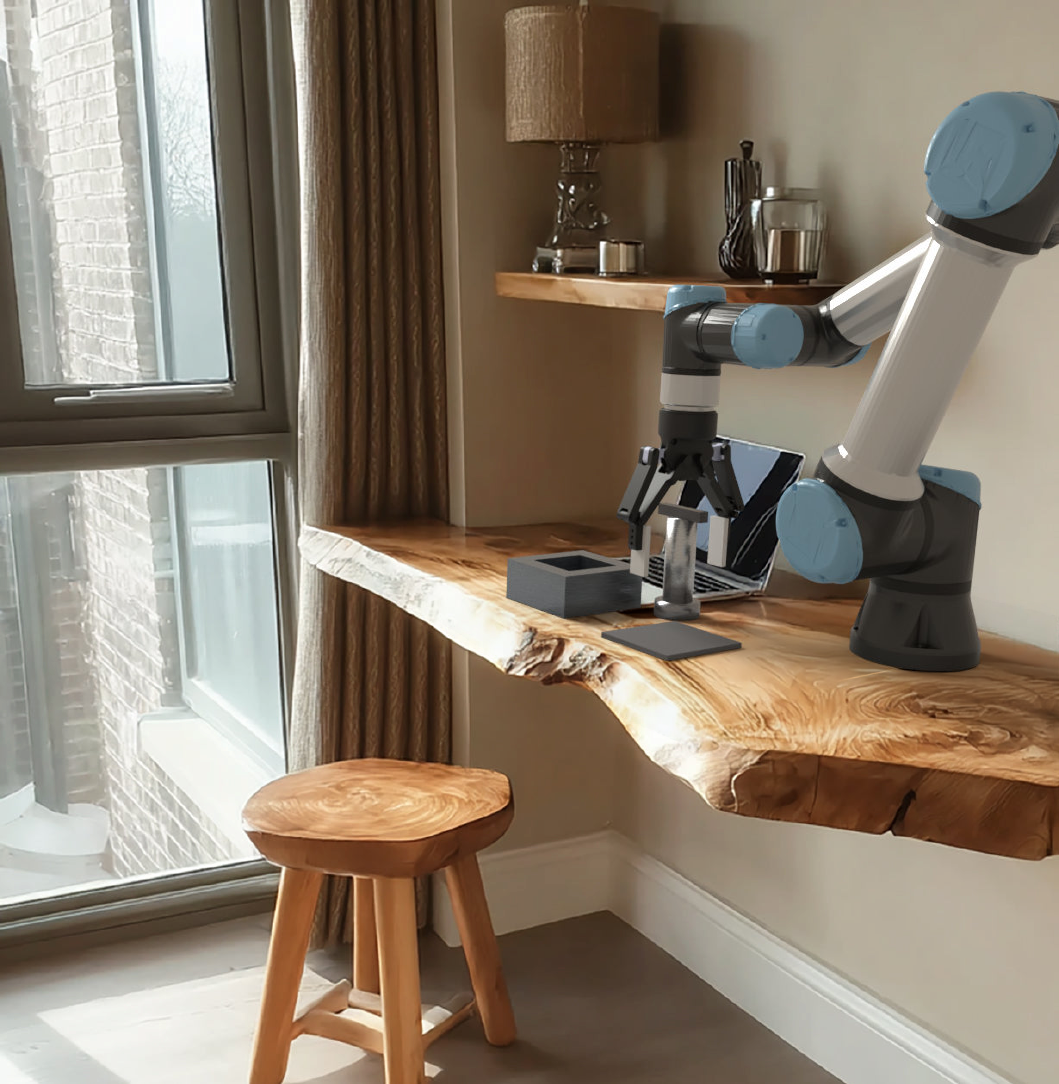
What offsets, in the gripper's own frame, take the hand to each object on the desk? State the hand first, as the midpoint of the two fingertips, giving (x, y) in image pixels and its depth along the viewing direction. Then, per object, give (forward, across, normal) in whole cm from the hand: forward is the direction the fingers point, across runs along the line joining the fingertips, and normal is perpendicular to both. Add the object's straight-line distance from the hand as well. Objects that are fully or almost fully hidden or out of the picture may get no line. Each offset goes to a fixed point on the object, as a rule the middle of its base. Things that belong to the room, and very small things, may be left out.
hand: (678, 570), depth 170 cm
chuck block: (+6, +8, -12) cm, 16 cm away
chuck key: (+6, 0, 0) cm, 6 cm away
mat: (+6, +10, +10) cm, 15 cm away
